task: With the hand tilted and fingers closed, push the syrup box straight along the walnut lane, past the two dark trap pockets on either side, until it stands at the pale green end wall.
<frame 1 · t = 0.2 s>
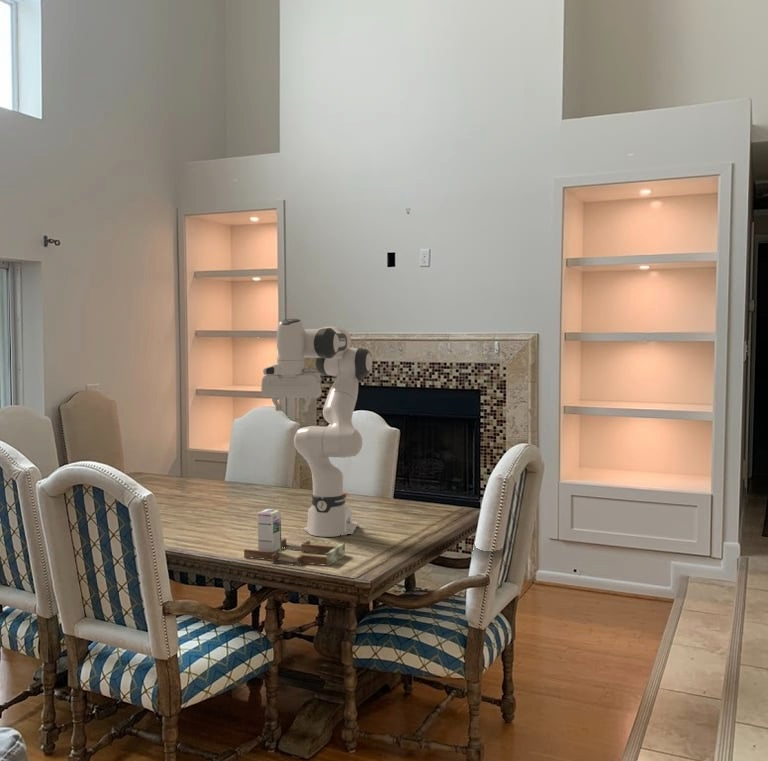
hand: (291, 411, 264), 48 cm above the table, tool pointing down, fingers open, 8 cm apart
trap lane: (291, 555, 266), on the table
syrup box: (269, 554, 268), on the table
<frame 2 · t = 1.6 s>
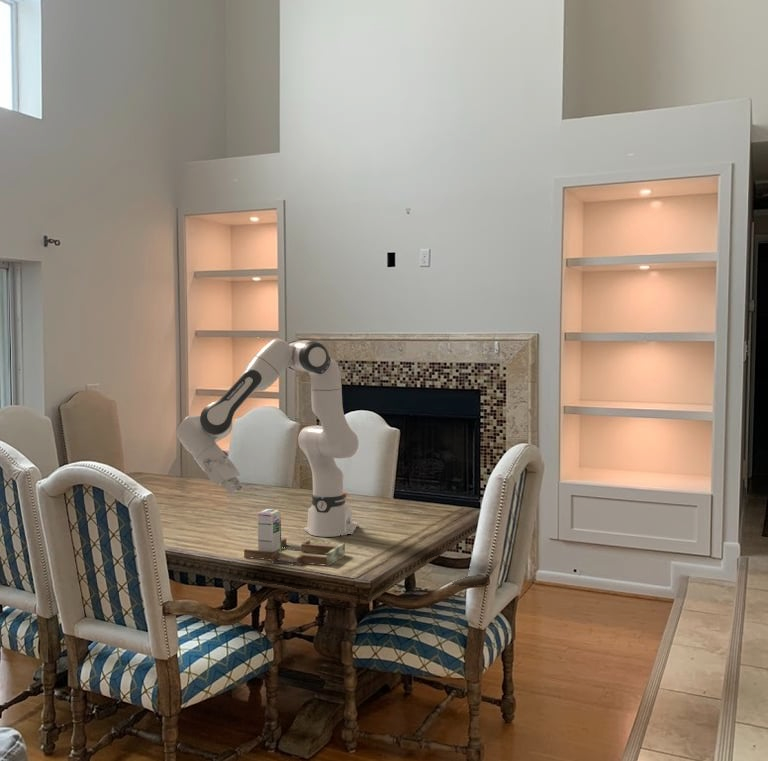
hand: (237, 491, 267), 21 cm above the table, tool tilted 40°, fingers open, 8 cm apart
nothing on the table moved.
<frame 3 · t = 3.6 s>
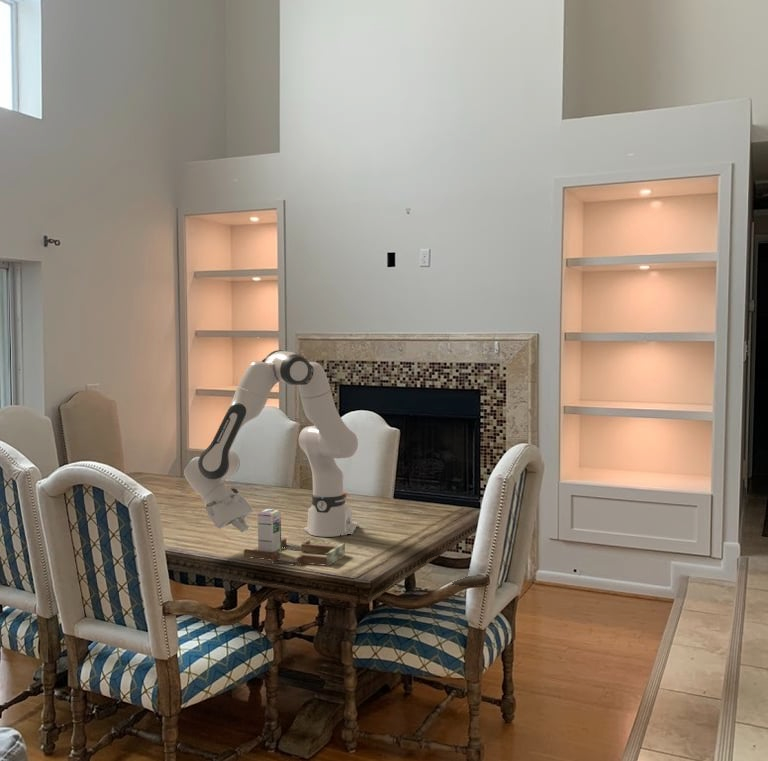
hand: (245, 530, 270), 7 cm above the table, tool tilted 45°, fingers closed
nothing on the table moved.
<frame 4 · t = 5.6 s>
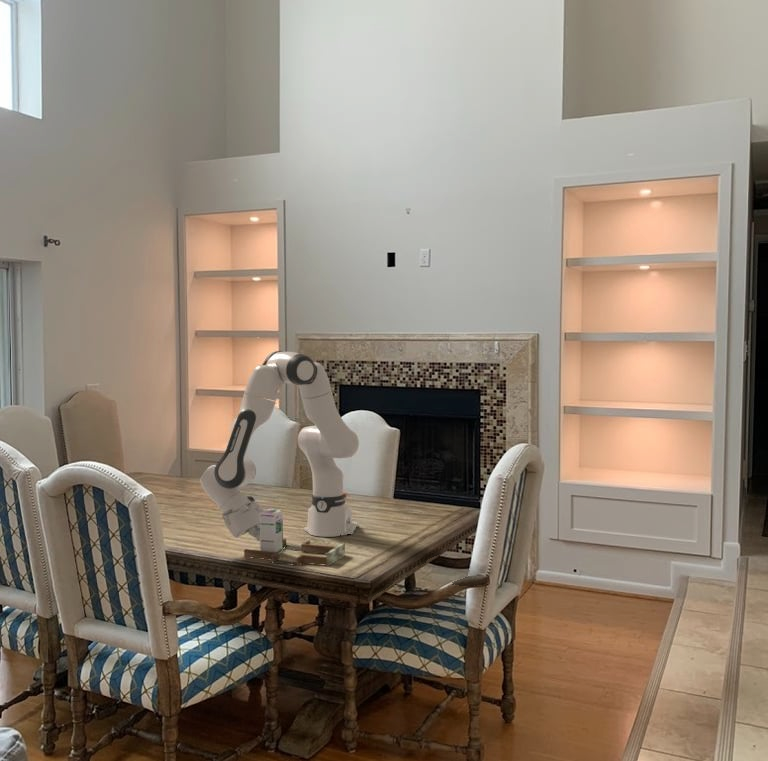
hand: (262, 538, 269), 5 cm above the table, tool tilted 45°, fingers closed, pressing on syrup box
syrup box: (271, 554, 268), on the table, touching gripper
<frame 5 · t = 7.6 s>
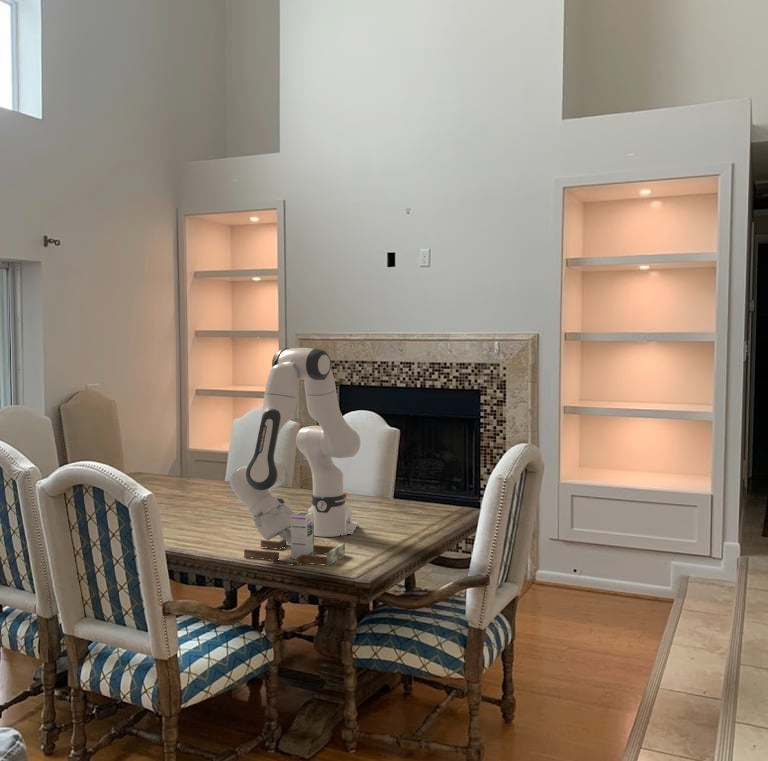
hand: (292, 541, 265), 5 cm above the table, tool tilted 45°, fingers closed, pressing on syrup box
syrup box: (302, 557, 264), on the table, touching gripper
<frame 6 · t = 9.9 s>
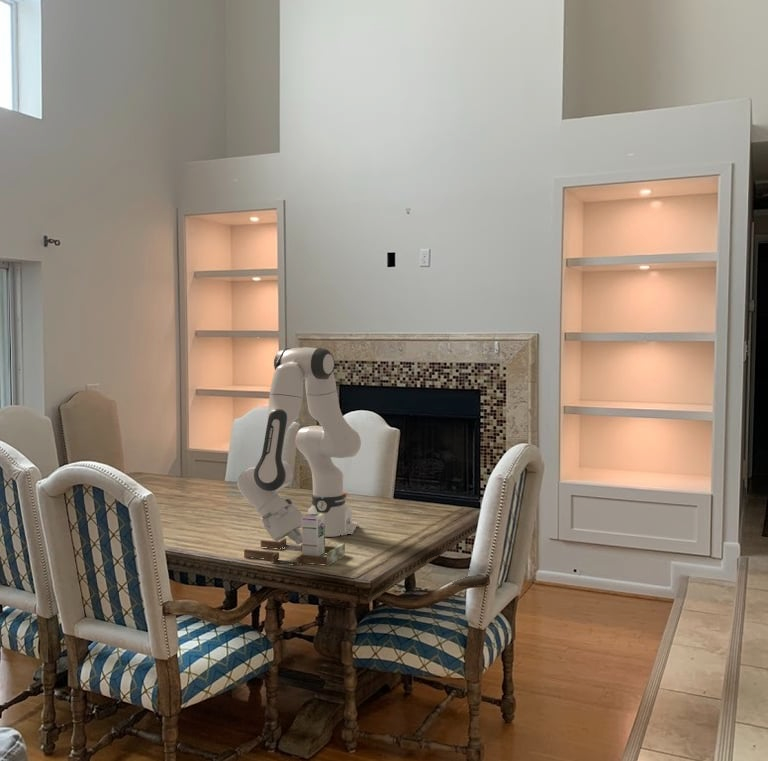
hand: (301, 542, 264), 5 cm above the table, tool tilted 45°, fingers closed
syrup box: (313, 559, 263), on the table
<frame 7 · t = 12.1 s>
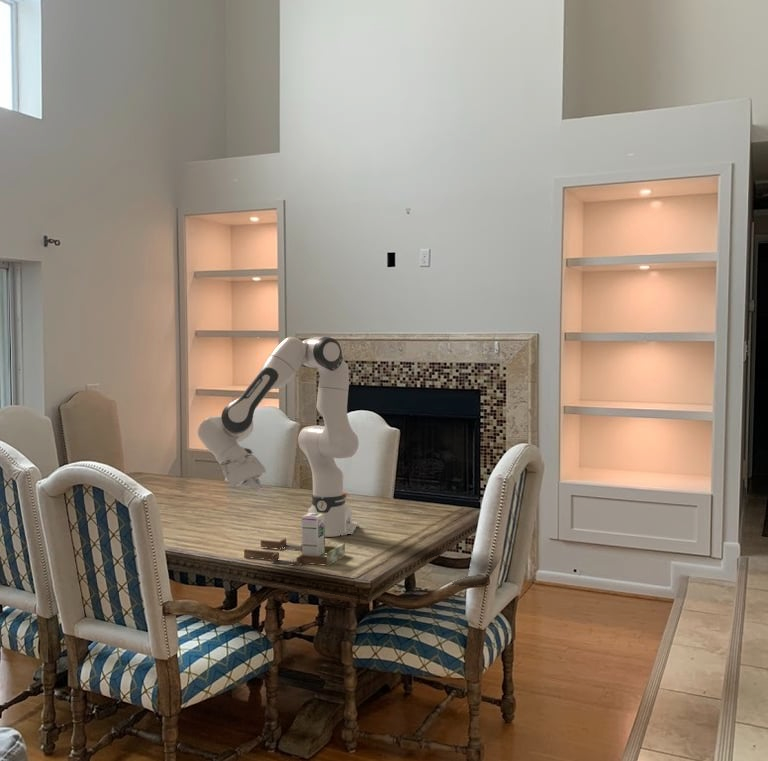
hand: (260, 489, 268), 21 cm above the table, tool tilted 45°, fingers closed
nothing on the table moved.
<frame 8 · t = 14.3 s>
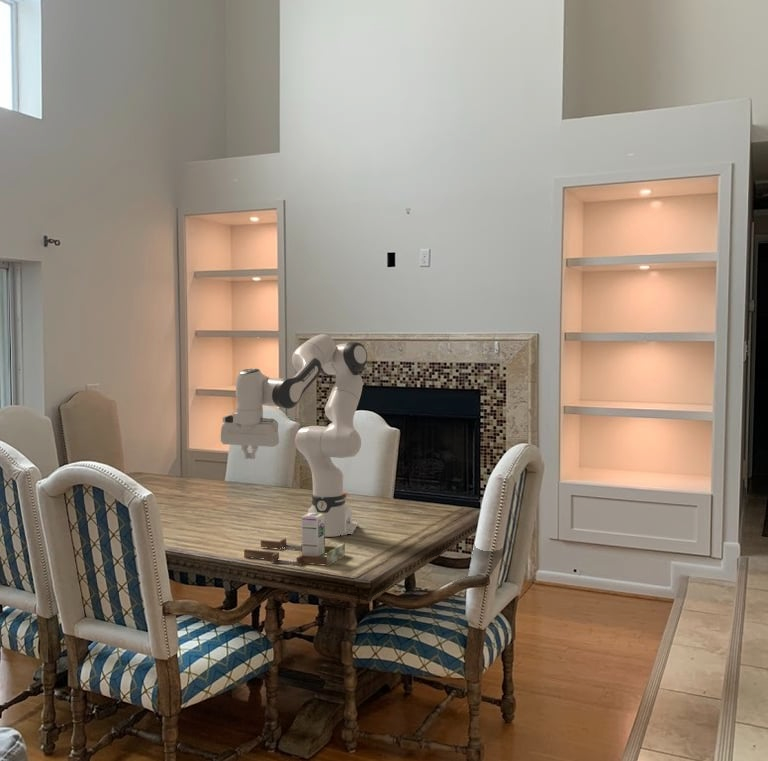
hand: (250, 458, 271), 31 cm above the table, tool pointing down, fingers closed
nothing on the table moved.
at the end: syrup box inside the target area (1.2 cm from its centre), on the table; syrup box tilted 0°; syrup box moved 15.9 cm from its start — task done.
